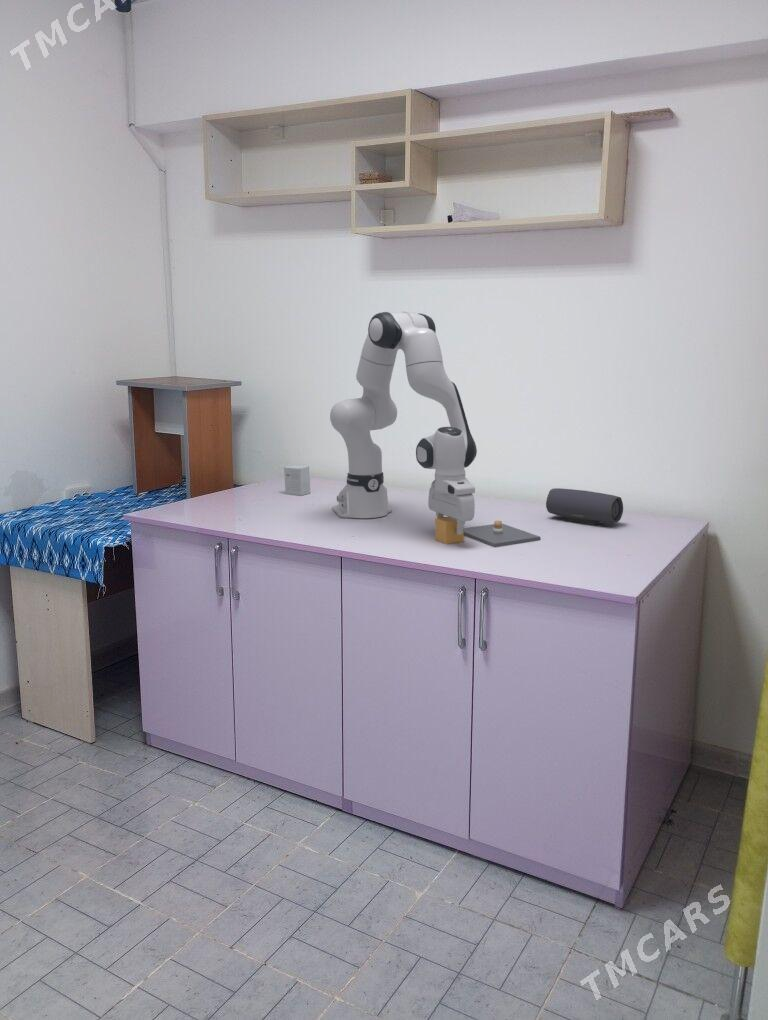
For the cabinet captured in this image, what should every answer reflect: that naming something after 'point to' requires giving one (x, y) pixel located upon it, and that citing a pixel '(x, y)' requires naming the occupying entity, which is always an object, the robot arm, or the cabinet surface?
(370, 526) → the cabinet surface
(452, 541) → the wooden cube
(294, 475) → the small box
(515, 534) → the plate
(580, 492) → the bluetooth speaker
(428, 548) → the cabinet surface
